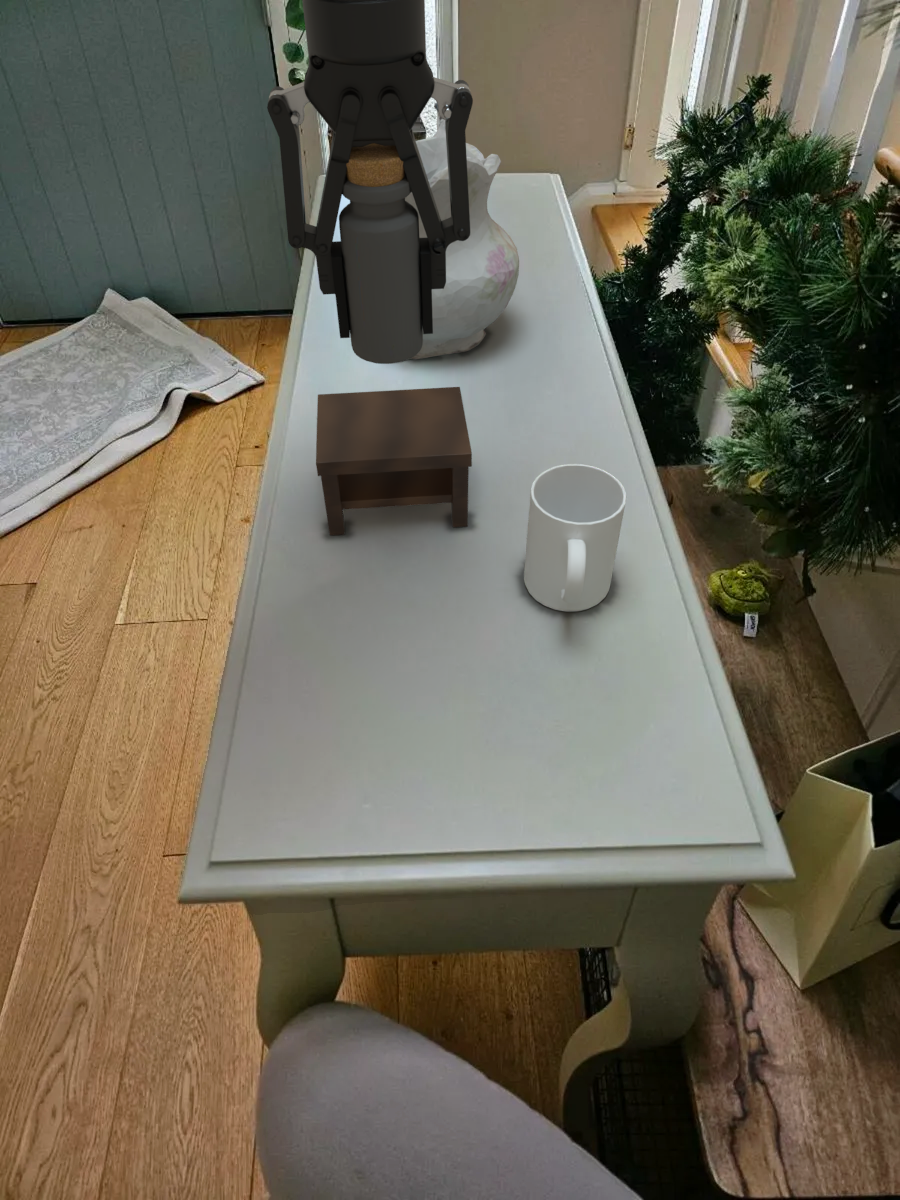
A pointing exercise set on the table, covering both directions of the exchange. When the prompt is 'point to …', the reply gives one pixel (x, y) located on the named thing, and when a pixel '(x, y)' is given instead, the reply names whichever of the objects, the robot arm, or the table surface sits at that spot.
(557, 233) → the table surface
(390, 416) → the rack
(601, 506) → the mug
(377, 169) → the bottle
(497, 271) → the ceramic pitcher
